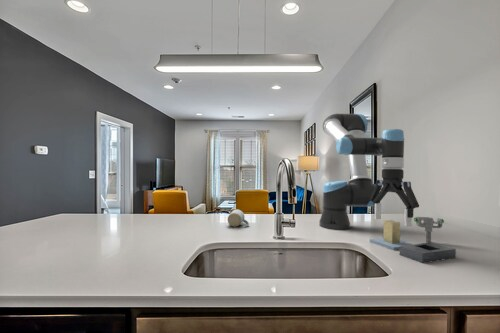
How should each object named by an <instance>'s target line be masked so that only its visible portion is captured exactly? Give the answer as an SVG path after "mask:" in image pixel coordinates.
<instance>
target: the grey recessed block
mask: <svg viewBox="0 0 500 333" xmlns="http://www.w3.org/2000/svg"><path fill="white" fill-rule="evenodd" d="M412 244H413V245H405V246H400V249H399V255H400V256H402V257H405V258H407V259H411V260H413V261H415V260H416V262H418V261H419V263H421V264H425V263H424V262H426V263H431V262H430V261H432V262H436V261H437V260H439V261H443V260H442V259H445V260H449V258H451V259H456V258H457V255H456V254H457V249H456V248H454V247H451V246H446V245H444V244H438V243H436V242H433V241H431V242H430V243H428V242H424V243H415V244H414V243H412Z"/></svg>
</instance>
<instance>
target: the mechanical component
mask: <svg viewBox="0 0 500 333" xmlns="http://www.w3.org/2000/svg"><path fill="white" fill-rule="evenodd" d="M413 220H414V222H415V224H416V226H418V227H420V228H424V232H425V241H426V242H425V243H430V242H432V233H433V229H441V228H442V227H443V224H444V223H445V222H444V221H445V220H444V218H440V217H439V218H437V220H436V221H435V220H434V218H433V217H429V216H427V217H426V216H415V217H413ZM434 224H435V225H434Z"/></svg>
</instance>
